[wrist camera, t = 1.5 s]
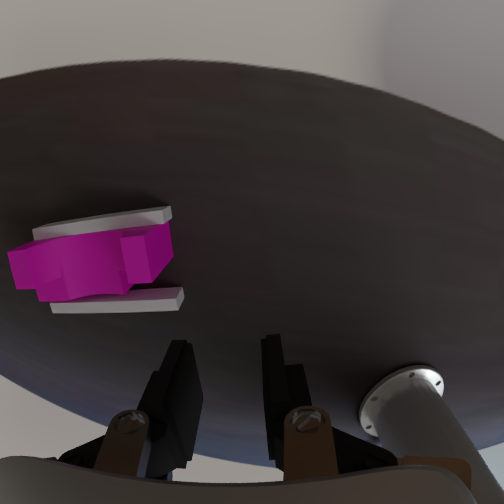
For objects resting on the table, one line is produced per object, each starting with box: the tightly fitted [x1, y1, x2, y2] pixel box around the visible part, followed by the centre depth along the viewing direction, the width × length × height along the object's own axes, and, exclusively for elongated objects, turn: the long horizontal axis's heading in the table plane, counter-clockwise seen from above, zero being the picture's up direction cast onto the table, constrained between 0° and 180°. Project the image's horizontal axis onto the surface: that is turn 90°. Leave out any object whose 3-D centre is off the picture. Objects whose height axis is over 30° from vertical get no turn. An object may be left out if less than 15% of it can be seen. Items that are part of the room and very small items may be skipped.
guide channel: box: [32, 206, 184, 313], centre depth 29 cm, size 9×15×3 cm, turn 95°
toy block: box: [7, 221, 174, 301], centre depth 27 cm, size 15×6×8 cm, turn 95°
